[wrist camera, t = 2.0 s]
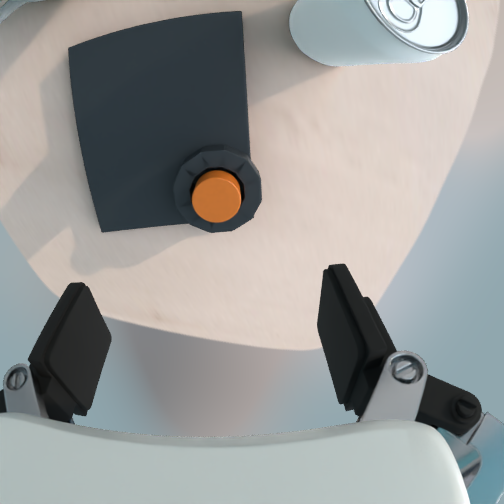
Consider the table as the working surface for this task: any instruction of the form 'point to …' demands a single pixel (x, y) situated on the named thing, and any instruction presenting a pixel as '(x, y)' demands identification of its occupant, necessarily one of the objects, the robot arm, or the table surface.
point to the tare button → (216, 196)
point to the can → (378, 30)
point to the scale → (164, 119)
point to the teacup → (12, 7)
